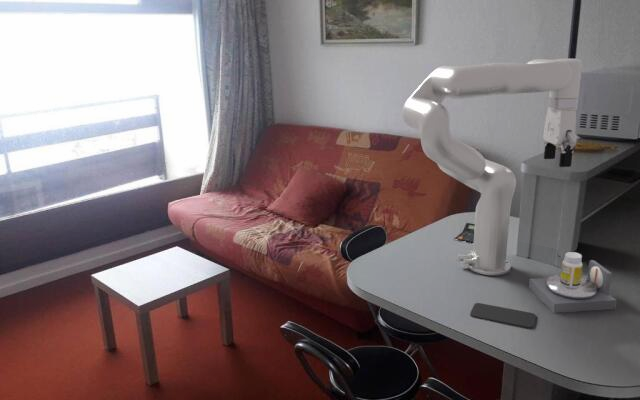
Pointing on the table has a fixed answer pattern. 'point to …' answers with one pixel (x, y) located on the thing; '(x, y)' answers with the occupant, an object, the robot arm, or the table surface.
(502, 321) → the phone
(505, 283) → the table surface
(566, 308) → the scale
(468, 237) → the calculator
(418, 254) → the table surface
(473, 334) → the table surface
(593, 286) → the scale pan
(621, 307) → the table surface
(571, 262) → the supplement bottle
